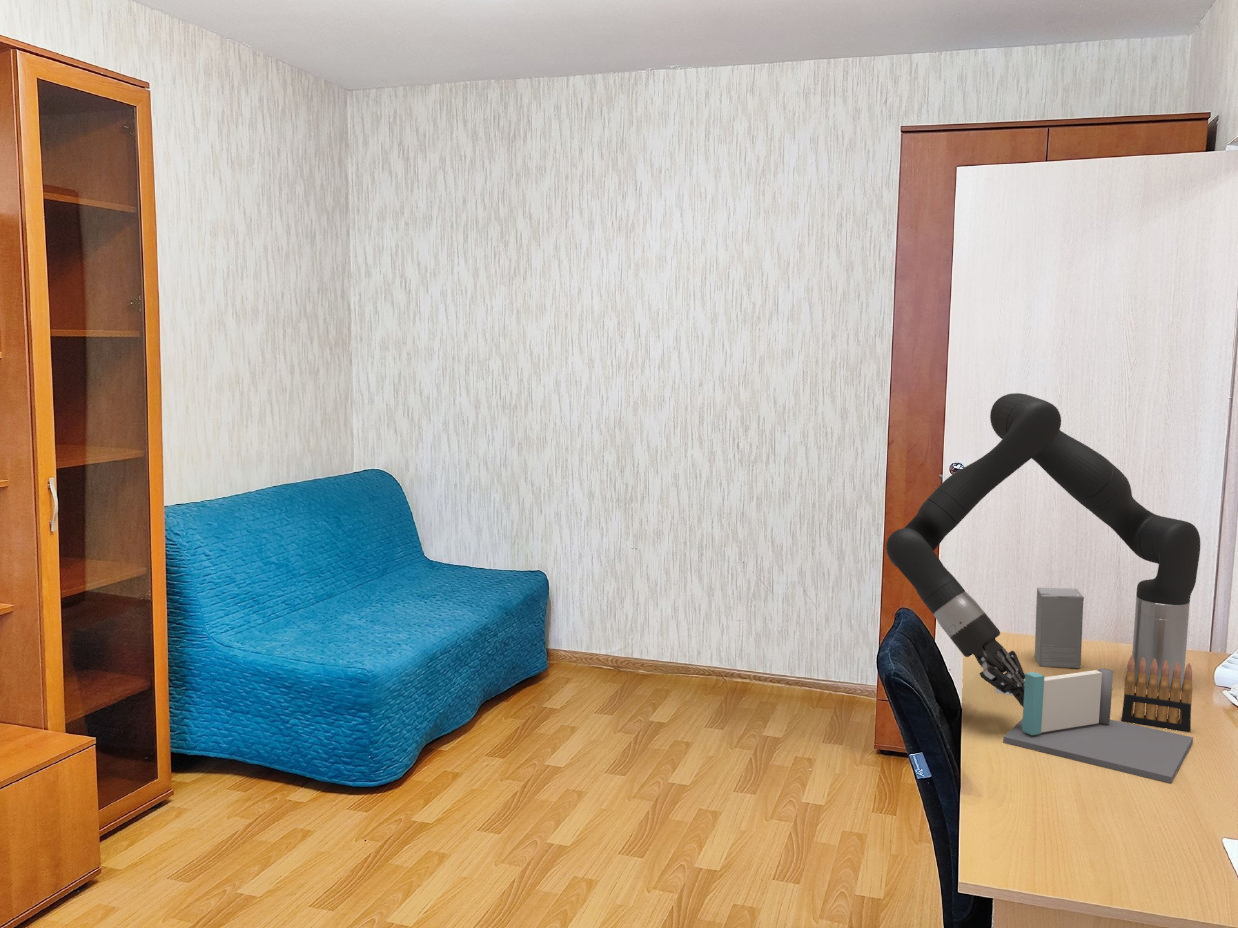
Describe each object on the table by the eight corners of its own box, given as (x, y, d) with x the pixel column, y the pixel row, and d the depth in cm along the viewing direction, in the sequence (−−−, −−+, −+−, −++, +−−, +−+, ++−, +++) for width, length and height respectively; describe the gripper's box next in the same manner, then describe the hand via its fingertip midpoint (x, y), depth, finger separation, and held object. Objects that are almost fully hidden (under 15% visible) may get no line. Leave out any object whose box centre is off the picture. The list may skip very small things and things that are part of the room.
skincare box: (1074, 660, 212) (1078, 587, 210) (1081, 670, 205) (1086, 595, 203) (1031, 657, 214) (1036, 584, 212) (1037, 667, 207) (1042, 592, 205)
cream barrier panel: (1101, 717, 175) (1105, 662, 174) (1112, 722, 173) (1116, 666, 172) (1021, 729, 169) (1024, 672, 168) (1031, 735, 167) (1035, 677, 165)
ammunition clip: (1189, 728, 174) (1195, 662, 173) (1190, 732, 172) (1195, 665, 171) (1121, 718, 179) (1126, 653, 178) (1121, 721, 177) (1125, 656, 176)
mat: (1037, 708, 183) (1037, 703, 183) (1192, 742, 168) (1193, 737, 168) (1003, 742, 167) (1003, 736, 167) (1171, 783, 152) (1171, 776, 152)
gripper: (968, 619, 169) (1038, 707, 163) (994, 604, 179) (1061, 686, 173) (936, 643, 173) (1003, 729, 167) (963, 627, 183) (1027, 707, 177)
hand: (1032, 707), depth 170 cm, fingers closed
